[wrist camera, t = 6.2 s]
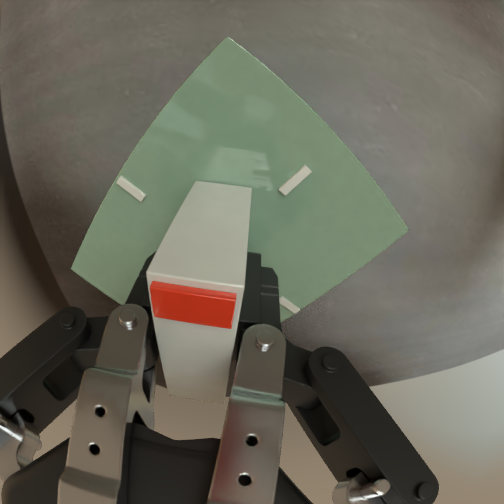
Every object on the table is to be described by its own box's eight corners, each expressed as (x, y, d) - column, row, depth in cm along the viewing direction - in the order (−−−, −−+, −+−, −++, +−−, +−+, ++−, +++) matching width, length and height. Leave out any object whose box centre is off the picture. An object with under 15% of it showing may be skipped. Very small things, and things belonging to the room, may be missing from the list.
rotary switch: (221, 332, 19) (217, 362, 17) (89, 244, 15) (69, 270, 13) (390, 206, 13) (411, 232, 11) (234, 44, 9) (227, 35, 7)
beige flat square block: (233, 306, 14) (223, 409, 9) (191, 300, 14) (167, 401, 9) (252, 187, 10) (244, 294, 6) (195, 179, 10) (141, 279, 6)
